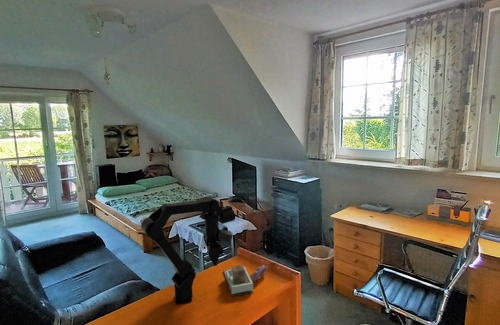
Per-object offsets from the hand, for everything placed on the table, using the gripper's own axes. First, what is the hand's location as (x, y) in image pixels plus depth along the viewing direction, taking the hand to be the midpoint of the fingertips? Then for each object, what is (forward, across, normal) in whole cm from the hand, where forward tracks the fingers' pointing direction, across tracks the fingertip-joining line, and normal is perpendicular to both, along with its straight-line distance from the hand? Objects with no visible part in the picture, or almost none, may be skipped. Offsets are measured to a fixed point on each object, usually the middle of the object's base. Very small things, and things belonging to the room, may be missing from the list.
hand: (213, 260), depth 127 cm
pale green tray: (+12, -4, -10) cm, 16 cm away
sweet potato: (+12, 0, -20) cm, 23 cm away
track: (+12, 0, -10) cm, 16 cm away
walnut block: (+10, -4, -10) cm, 14 cm away
